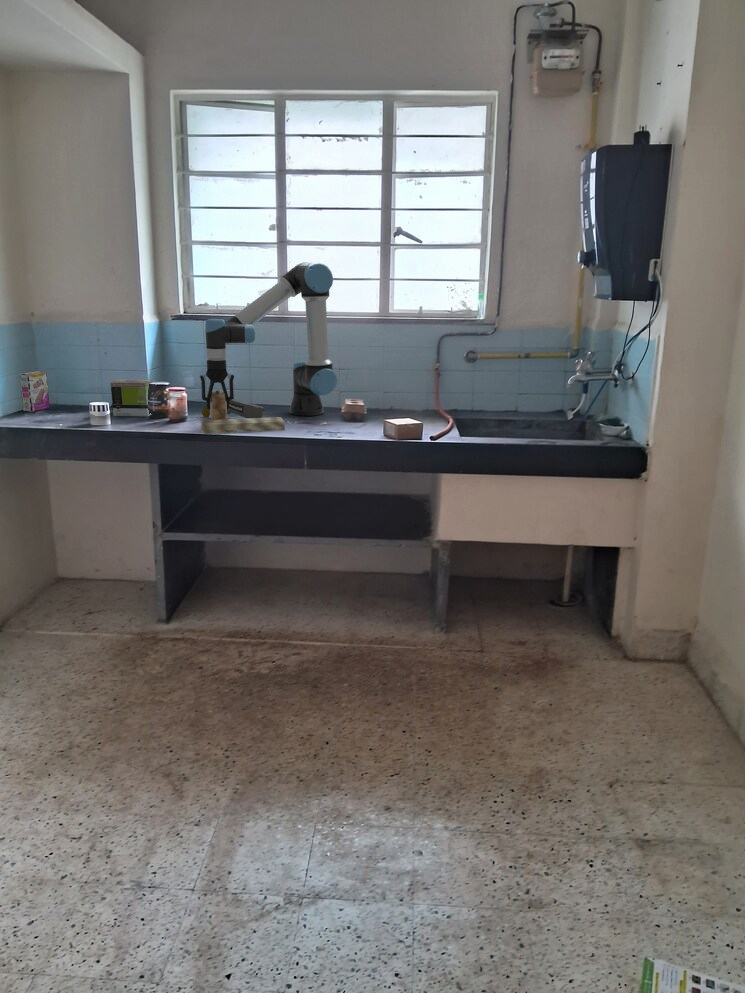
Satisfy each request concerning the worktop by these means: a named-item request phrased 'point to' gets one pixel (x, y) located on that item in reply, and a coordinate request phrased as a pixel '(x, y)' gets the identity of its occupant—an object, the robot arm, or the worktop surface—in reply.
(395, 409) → the worktop surface
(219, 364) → the robot arm
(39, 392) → the candy bar box
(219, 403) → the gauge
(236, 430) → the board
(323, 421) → the worktop surface
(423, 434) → the worktop surface
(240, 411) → the gun
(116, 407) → the tea box
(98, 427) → the worktop surface
